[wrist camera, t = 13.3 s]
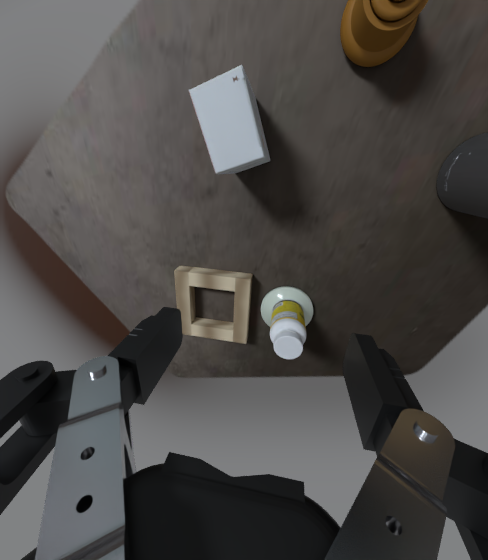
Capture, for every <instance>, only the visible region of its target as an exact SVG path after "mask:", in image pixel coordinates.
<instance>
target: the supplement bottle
mask: <svg viewBox="0 0 488 560" xmlns="http://www.w3.org/2000/svg"><path fill="white" fill-rule="evenodd" d="M270 338H271V341H272V342H273V344H274V350H275V352H276V354H277V355H278V356H280V357H282V358H284V359H294V358H297V357H298V356H300V354H301V353H302V351H303V344H304V342H305V340H306V326H305V319H304V312H303V308H302V306H301V305H300V304H299V303H298V302H297V301H295V300H292V299H282V300H280V301H278V302H277V303H276V304H275V305H274V306H273V309H272V317H271V327H270Z"/></svg>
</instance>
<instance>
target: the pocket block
mask: <svg viewBox="0 0 488 560" xmlns="http://www.w3.org/2000/svg"><path fill="white" fill-rule="evenodd" d="M174 274H175V287H176V300H177V309H180V311H181V320H182V334H186V335H192V336H199V337H205V338H212V339H218V340H225V341H231V342H238V343H244V344H246V342H247V338H248V330H249V317H250V303H251V289H252V276H253V274H250V273H241V272H233V271H224V270H215V269H206V268H198V267H189V266H179V267H178V268H177V269H176V270H174ZM195 287H203V288H211V289H219V290H227V291H234V292H235V300H234V323H233V322H226V321H219V320H212V319H205V318H198V317H196V312H195Z"/></svg>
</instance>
